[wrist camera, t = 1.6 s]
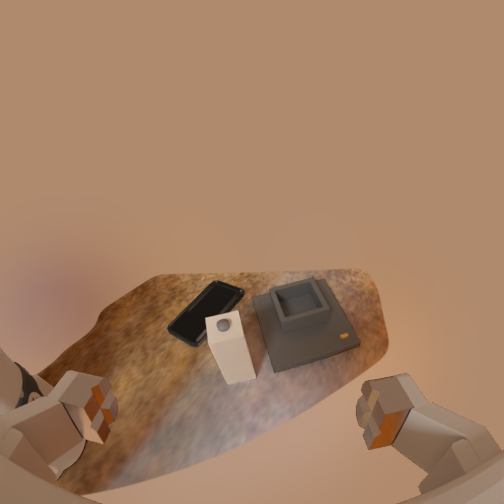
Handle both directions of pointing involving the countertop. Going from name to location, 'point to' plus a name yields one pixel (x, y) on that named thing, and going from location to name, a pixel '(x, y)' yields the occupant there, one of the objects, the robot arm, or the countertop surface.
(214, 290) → the phone
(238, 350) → the cream square peg
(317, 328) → the dock
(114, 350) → the countertop surface
